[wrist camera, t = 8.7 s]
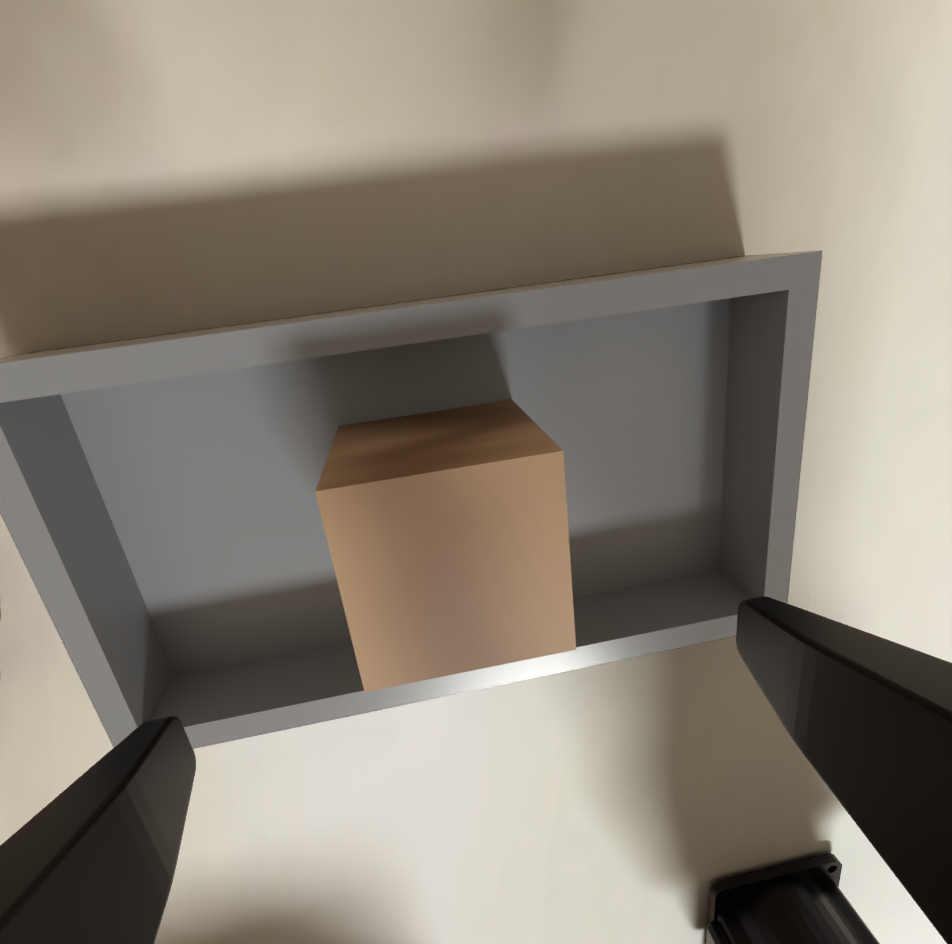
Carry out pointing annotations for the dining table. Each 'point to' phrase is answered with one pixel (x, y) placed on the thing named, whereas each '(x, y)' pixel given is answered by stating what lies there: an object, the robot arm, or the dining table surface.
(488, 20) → the dining table surface
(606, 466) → the grey tray
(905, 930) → the dining table surface
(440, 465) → the walnut block
